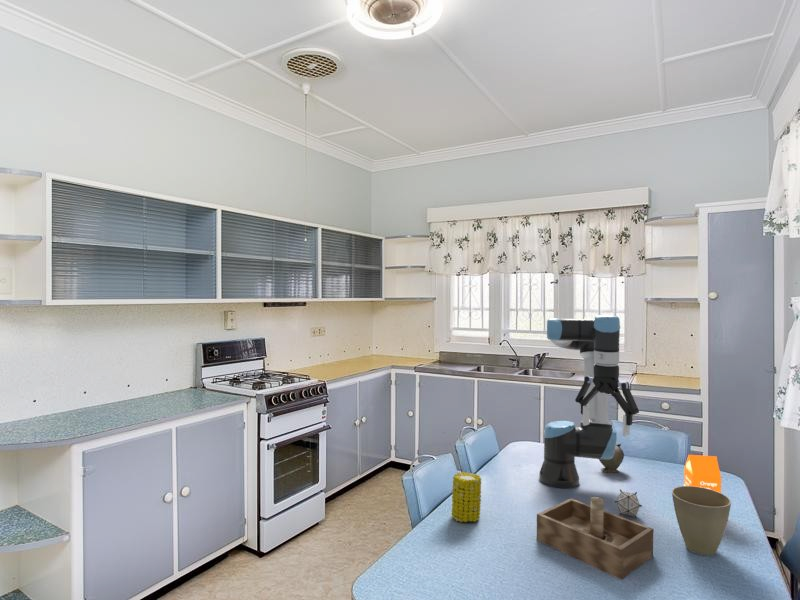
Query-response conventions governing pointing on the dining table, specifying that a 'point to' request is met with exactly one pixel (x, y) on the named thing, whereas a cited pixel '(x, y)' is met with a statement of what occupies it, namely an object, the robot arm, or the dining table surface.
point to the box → (596, 538)
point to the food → (466, 497)
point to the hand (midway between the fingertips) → (605, 429)
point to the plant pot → (701, 517)
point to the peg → (596, 517)
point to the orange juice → (702, 472)
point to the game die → (628, 503)
